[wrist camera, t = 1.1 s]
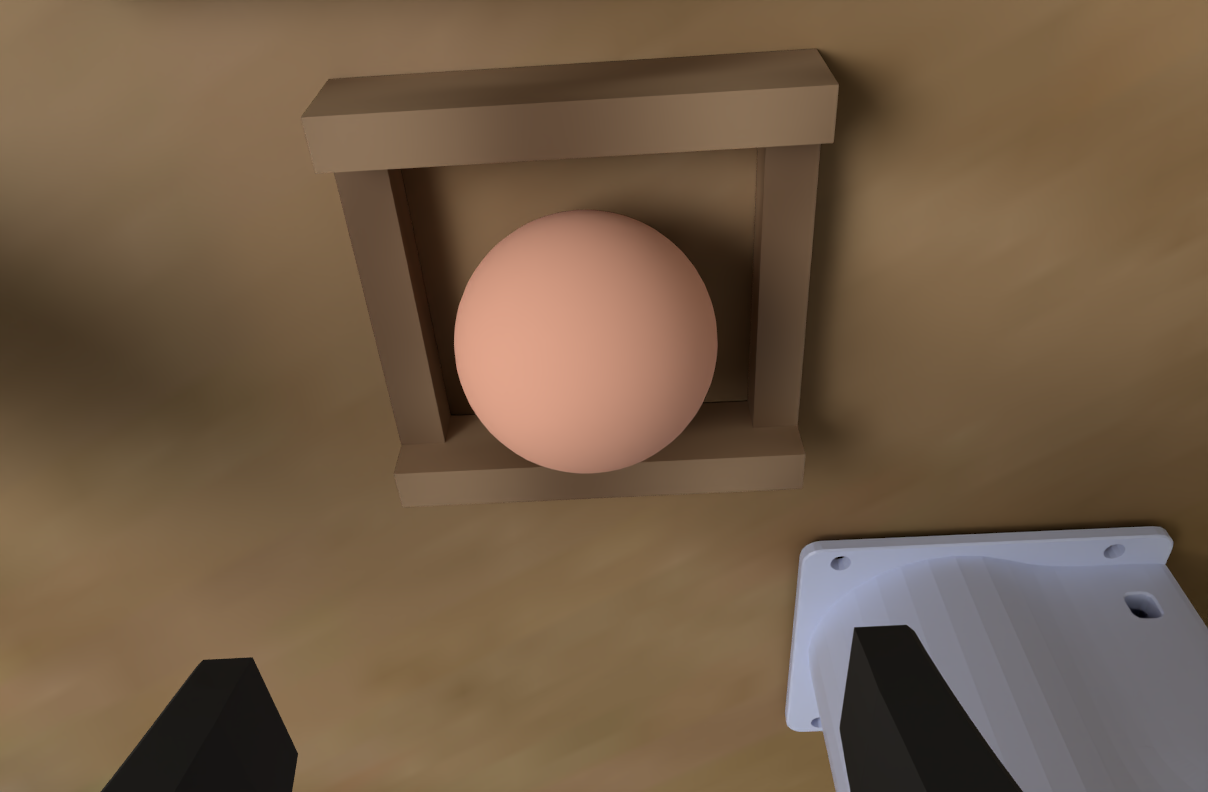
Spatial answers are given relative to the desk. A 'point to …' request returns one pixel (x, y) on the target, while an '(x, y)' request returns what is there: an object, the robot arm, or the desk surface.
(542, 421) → the ball
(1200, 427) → the desk surface
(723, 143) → the frame
